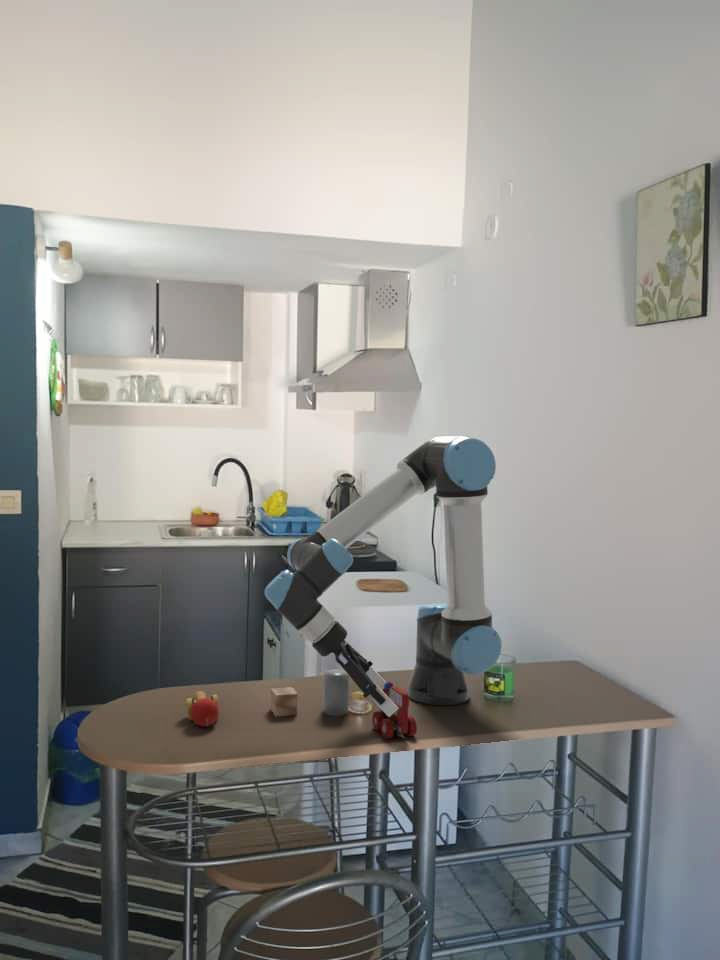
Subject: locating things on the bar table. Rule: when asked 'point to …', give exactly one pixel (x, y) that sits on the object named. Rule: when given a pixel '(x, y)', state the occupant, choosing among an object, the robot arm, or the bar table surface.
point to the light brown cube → (283, 701)
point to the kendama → (203, 709)
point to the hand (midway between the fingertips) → (390, 701)
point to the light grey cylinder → (336, 692)
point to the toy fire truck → (395, 714)
